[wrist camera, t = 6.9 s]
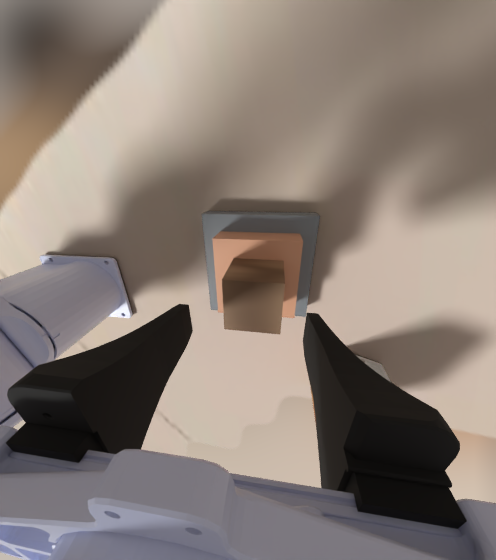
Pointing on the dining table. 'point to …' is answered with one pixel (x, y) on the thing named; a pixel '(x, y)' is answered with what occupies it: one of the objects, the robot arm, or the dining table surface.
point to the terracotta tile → (260, 248)
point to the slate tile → (265, 224)
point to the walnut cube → (253, 295)
